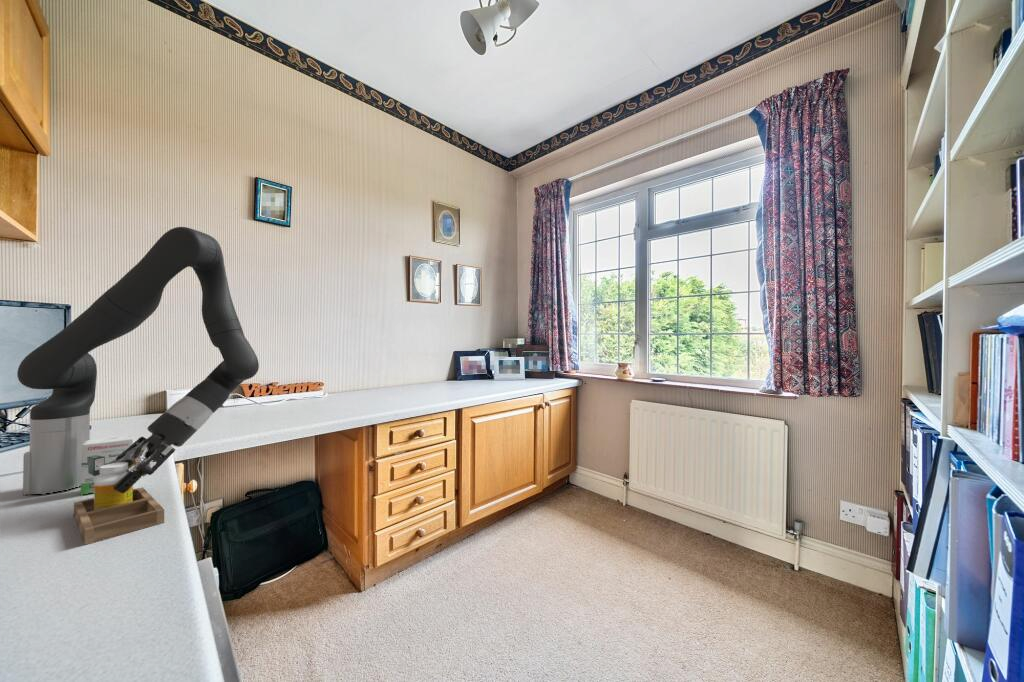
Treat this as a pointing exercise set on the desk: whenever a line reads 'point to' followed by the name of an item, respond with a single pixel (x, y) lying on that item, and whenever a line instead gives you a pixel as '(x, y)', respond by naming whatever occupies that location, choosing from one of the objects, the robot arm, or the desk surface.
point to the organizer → (117, 517)
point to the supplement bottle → (111, 486)
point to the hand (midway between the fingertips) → (110, 487)
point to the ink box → (100, 458)
